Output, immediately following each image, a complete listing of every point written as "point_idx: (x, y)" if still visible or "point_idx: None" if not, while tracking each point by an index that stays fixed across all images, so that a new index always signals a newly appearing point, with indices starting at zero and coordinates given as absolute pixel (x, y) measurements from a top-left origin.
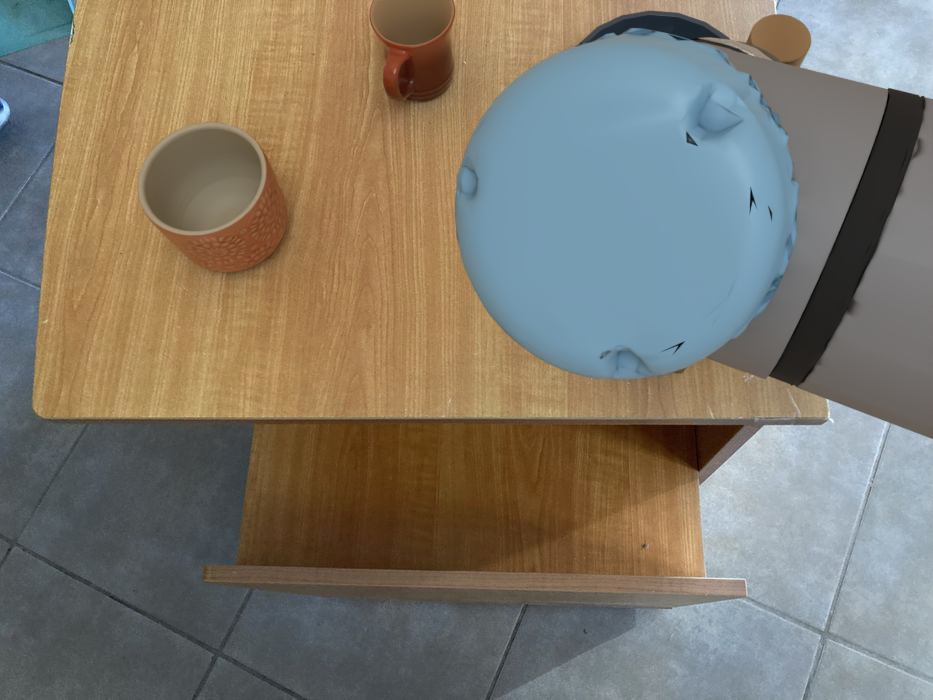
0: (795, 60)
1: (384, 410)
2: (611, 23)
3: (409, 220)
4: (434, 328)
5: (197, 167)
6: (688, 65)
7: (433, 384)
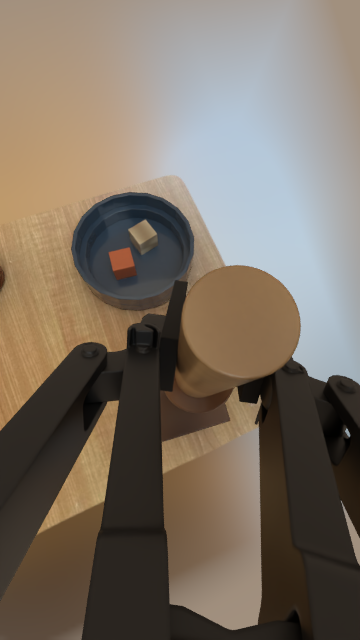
0: (287, 361)
1: None
2: (90, 211)
3: (7, 384)
4: None
5: None
6: None
7: (61, 497)
